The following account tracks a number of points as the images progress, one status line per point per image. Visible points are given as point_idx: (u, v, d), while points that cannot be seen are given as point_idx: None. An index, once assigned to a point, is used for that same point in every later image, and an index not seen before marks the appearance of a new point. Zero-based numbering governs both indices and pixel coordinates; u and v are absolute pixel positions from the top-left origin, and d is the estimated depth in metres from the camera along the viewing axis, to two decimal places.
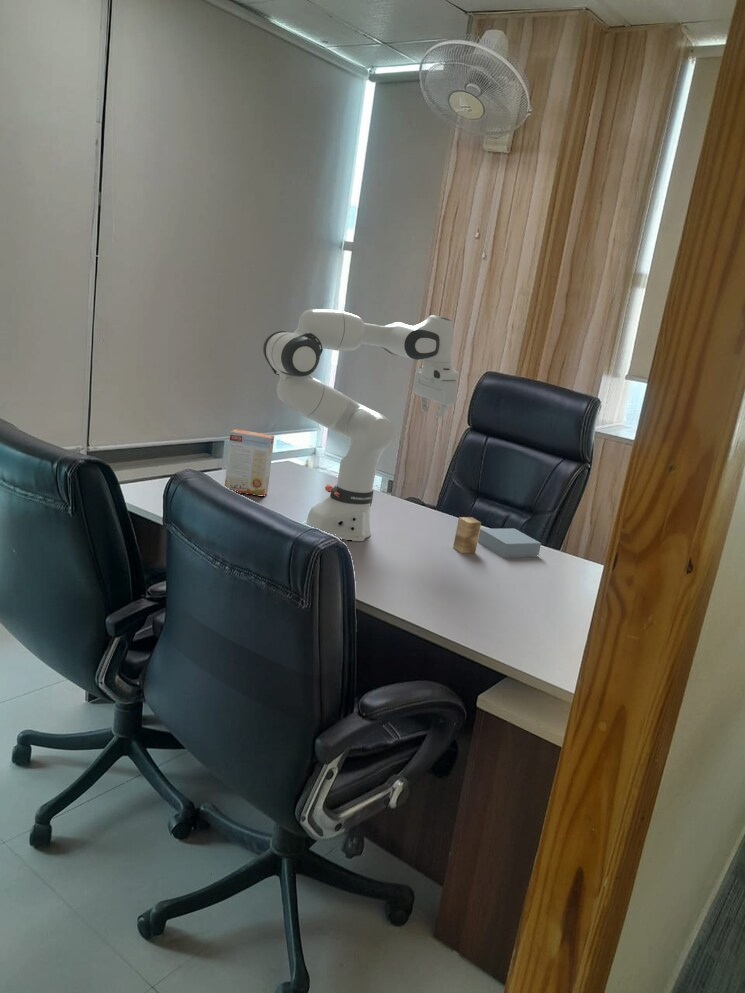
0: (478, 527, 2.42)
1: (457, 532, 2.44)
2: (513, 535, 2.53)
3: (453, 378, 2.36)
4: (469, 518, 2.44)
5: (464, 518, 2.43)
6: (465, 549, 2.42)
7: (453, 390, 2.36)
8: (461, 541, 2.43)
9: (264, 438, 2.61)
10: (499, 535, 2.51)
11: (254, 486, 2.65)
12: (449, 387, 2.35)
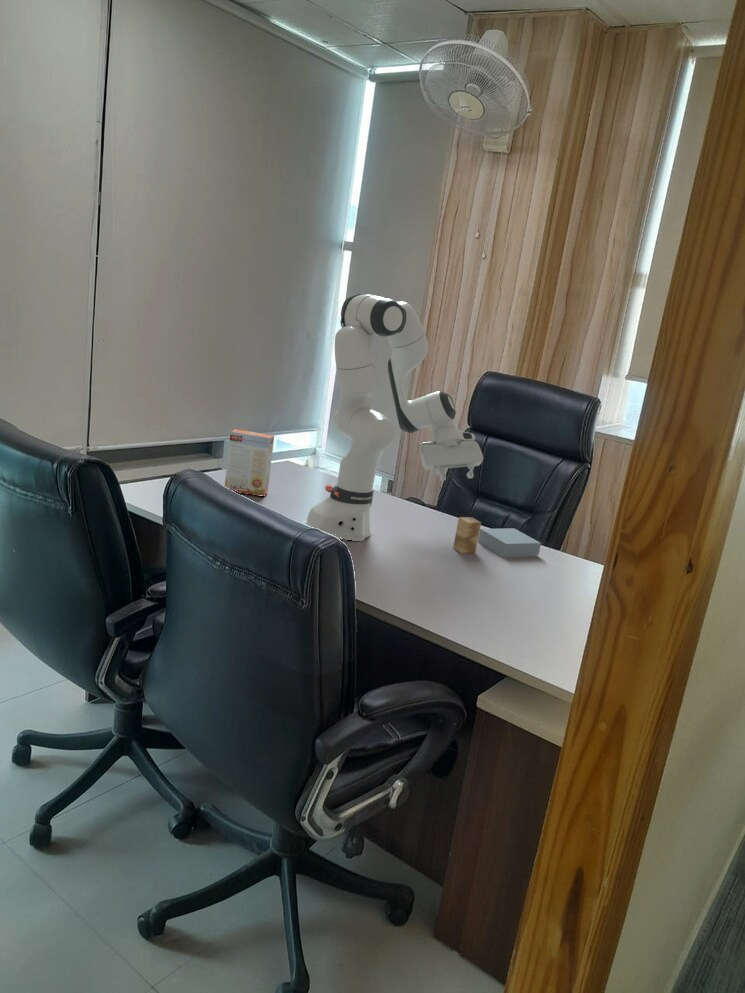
0: (478, 527, 2.42)
1: (457, 532, 2.44)
2: (513, 535, 2.53)
3: None
4: (469, 518, 2.44)
5: (464, 518, 2.43)
6: (465, 549, 2.42)
7: None
8: (461, 541, 2.43)
9: (264, 438, 2.61)
10: (499, 535, 2.51)
11: (254, 486, 2.65)
12: None
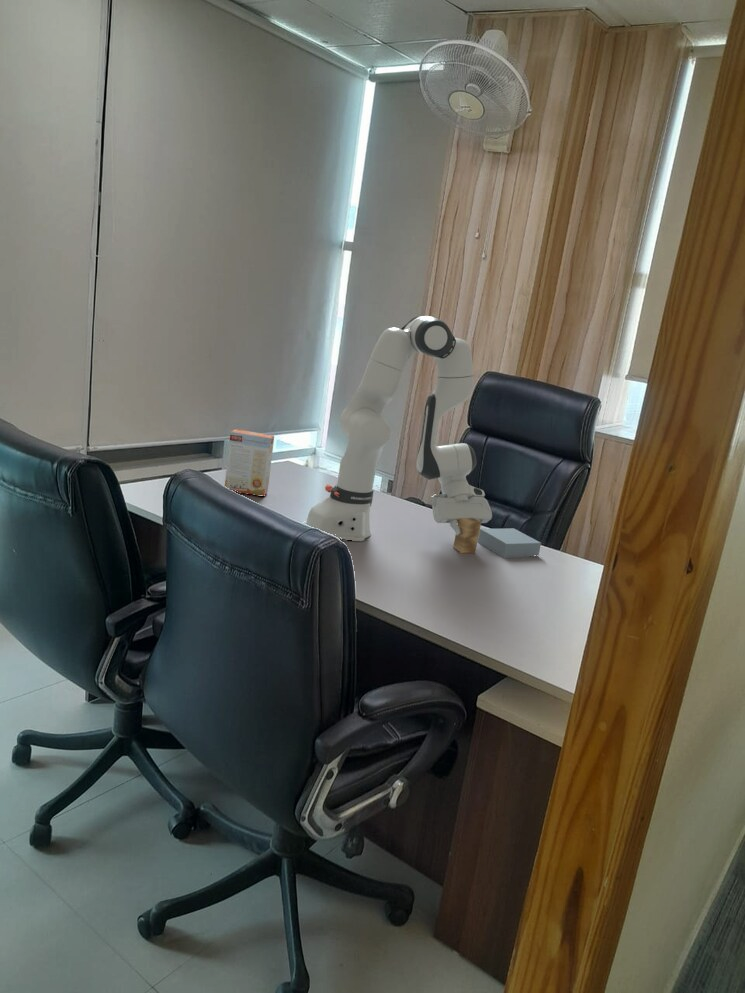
0: (478, 527, 2.42)
1: None
2: (513, 535, 2.53)
3: None
4: (469, 518, 2.44)
5: (464, 518, 2.43)
6: (465, 549, 2.42)
7: None
8: (461, 541, 2.43)
9: (264, 438, 2.61)
10: (499, 535, 2.51)
11: (254, 486, 2.65)
12: None
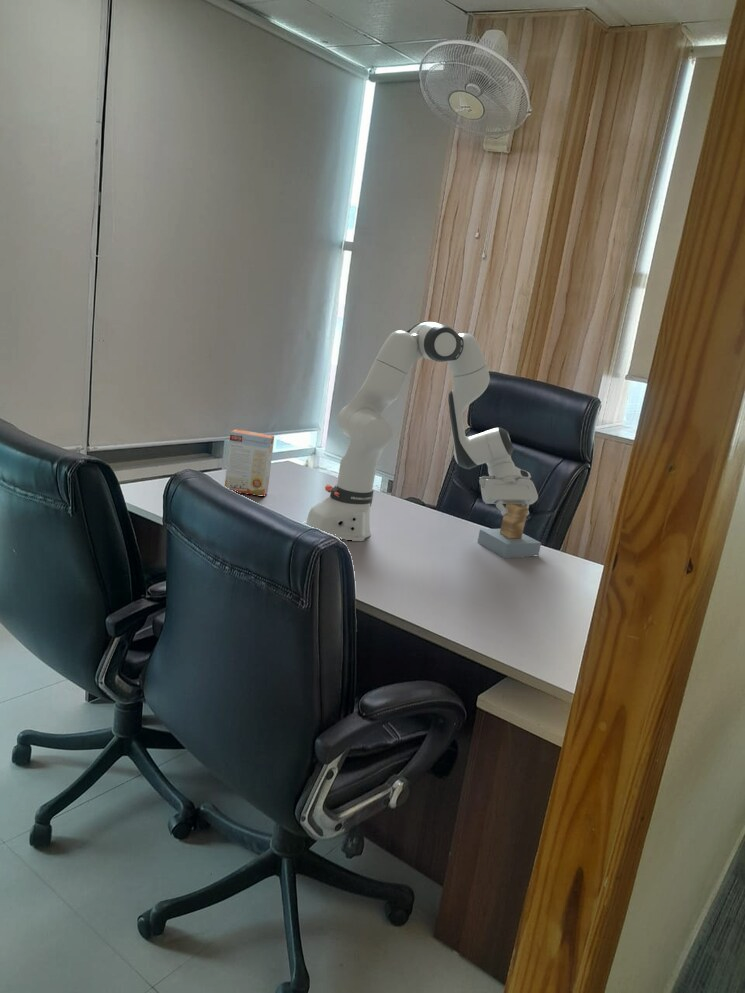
0: (525, 513, 2.49)
1: (504, 518, 2.51)
2: None
3: None
4: (515, 504, 2.52)
5: (511, 504, 2.50)
6: (512, 534, 2.49)
7: None
8: (508, 527, 2.49)
9: (264, 438, 2.61)
10: (499, 535, 2.51)
11: (254, 486, 2.65)
12: None
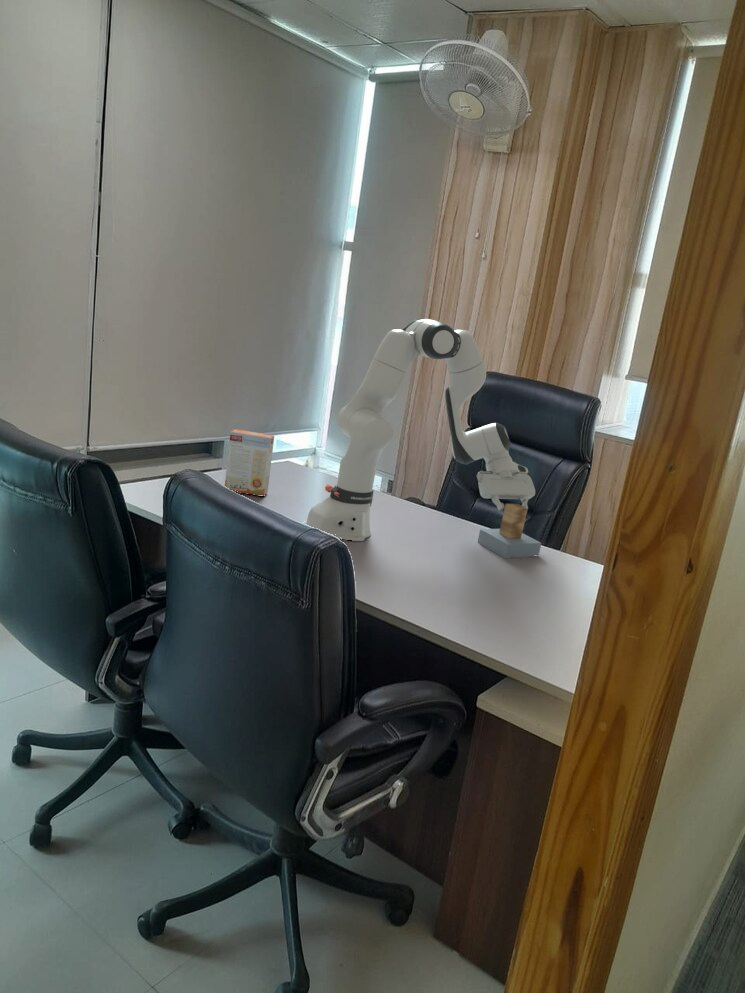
0: (524, 513, 2.49)
1: (503, 518, 2.51)
2: None
3: None
4: (515, 504, 2.51)
5: (511, 504, 2.50)
6: (512, 534, 2.49)
7: None
8: (507, 527, 2.50)
9: (264, 438, 2.61)
10: (499, 535, 2.51)
11: (254, 486, 2.65)
12: None
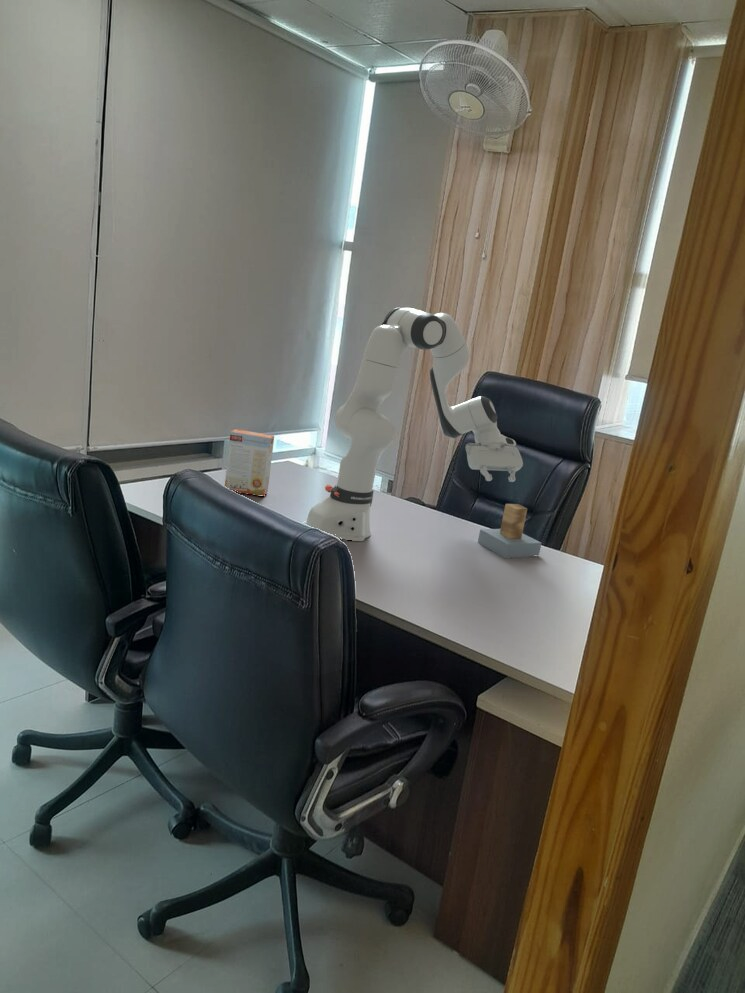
0: (524, 513, 2.49)
1: (503, 519, 2.51)
2: None
3: None
4: (515, 504, 2.51)
5: (510, 504, 2.50)
6: (512, 534, 2.49)
7: None
8: (507, 527, 2.50)
9: (264, 438, 2.61)
10: (499, 535, 2.51)
11: (254, 486, 2.65)
12: None
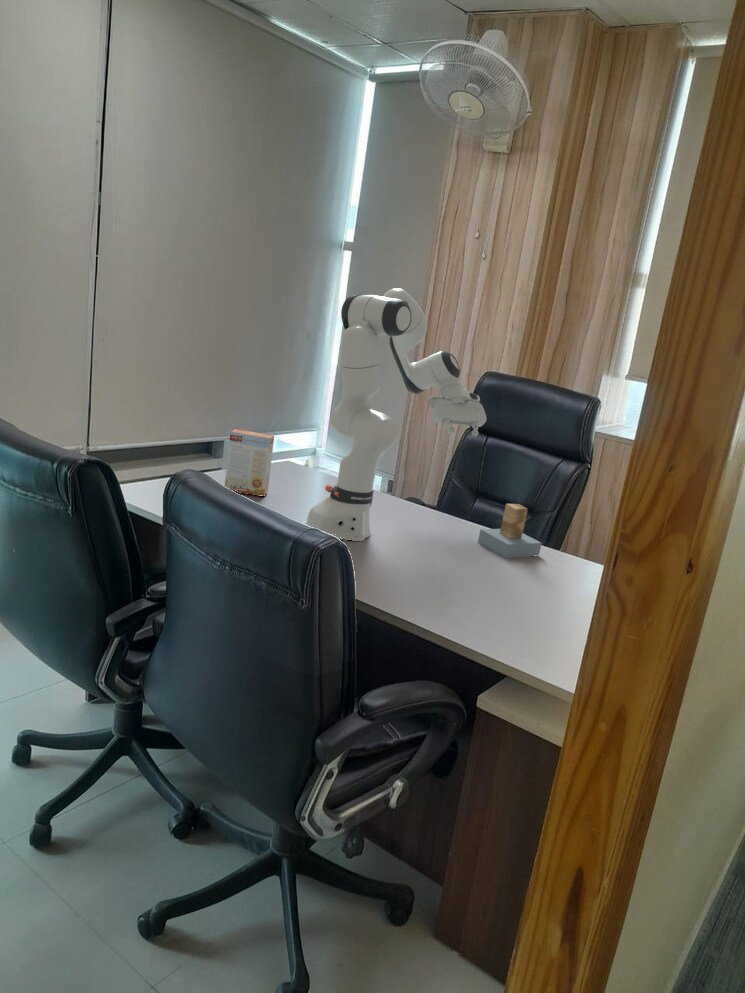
0: (525, 513, 2.49)
1: (504, 518, 2.52)
2: None
3: None
4: (515, 504, 2.52)
5: (511, 504, 2.51)
6: (512, 534, 2.50)
7: None
8: (507, 527, 2.50)
9: (264, 438, 2.61)
10: (499, 535, 2.51)
11: (254, 486, 2.65)
12: None
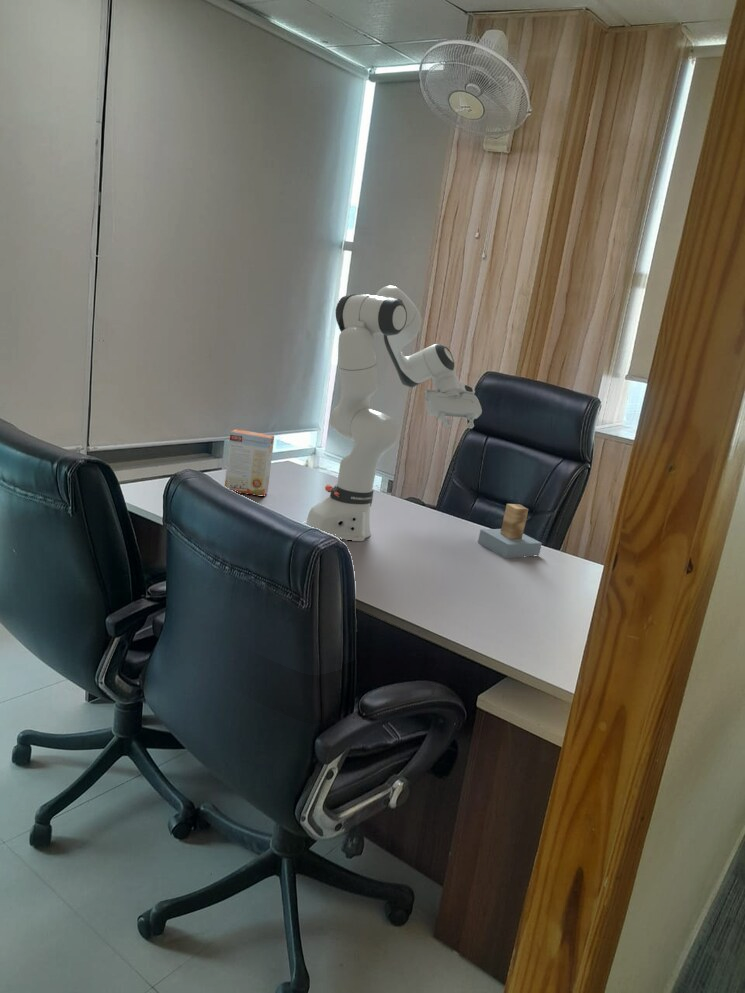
0: (525, 514, 2.49)
1: (504, 518, 2.51)
2: None
3: None
4: (516, 505, 2.51)
5: (512, 505, 2.50)
6: (512, 535, 2.49)
7: None
8: (508, 527, 2.50)
9: (264, 438, 2.61)
10: (499, 535, 2.51)
11: (254, 486, 2.65)
12: None
